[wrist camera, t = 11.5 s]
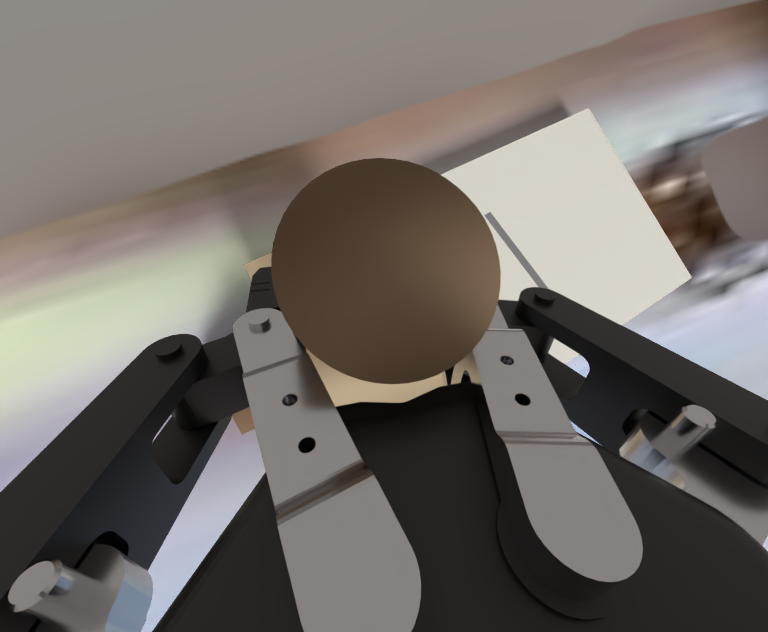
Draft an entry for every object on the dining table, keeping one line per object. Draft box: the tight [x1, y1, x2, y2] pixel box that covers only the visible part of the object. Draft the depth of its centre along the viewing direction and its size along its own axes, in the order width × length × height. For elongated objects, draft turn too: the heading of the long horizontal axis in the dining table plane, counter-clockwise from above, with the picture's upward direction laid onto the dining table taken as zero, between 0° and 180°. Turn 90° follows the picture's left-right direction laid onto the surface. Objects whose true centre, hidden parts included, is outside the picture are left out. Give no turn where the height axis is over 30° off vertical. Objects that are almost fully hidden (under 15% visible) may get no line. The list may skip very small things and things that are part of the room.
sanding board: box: [441, 108, 692, 364], centre depth 21 cm, size 14×24×2 cm, turn 119°
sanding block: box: [244, 158, 501, 407], centre depth 11 cm, size 10×6×12 cm, turn 29°
